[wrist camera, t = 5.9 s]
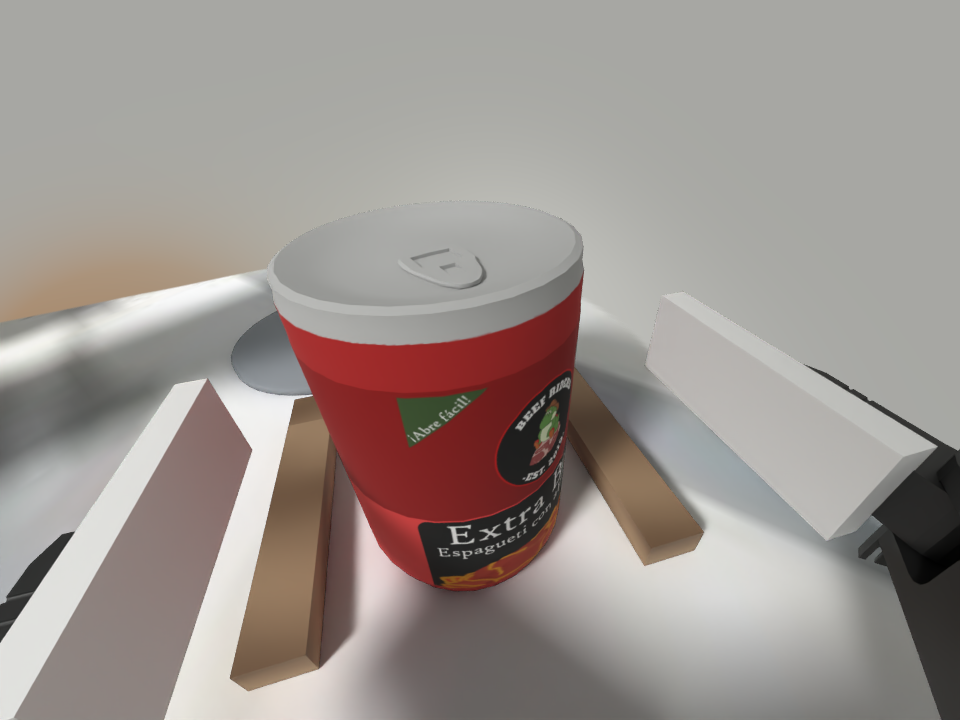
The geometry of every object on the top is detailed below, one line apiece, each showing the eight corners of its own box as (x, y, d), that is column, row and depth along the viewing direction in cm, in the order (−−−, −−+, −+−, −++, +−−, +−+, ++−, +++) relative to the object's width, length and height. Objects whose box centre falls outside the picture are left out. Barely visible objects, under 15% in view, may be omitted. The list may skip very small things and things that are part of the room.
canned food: (461, 659, 11) (383, 371, 5) (336, 499, 16) (215, 248, 10) (597, 495, 15) (652, 224, 9) (466, 407, 20) (441, 189, 14)
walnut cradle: (694, 550, 13) (704, 532, 13) (248, 691, 11) (229, 678, 10) (557, 362, 23) (558, 346, 22) (302, 416, 21) (294, 399, 20)
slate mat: (192, 367, 25) (188, 360, 25) (331, 287, 34) (329, 281, 34) (338, 419, 20) (334, 411, 20) (454, 309, 29) (453, 303, 29)
